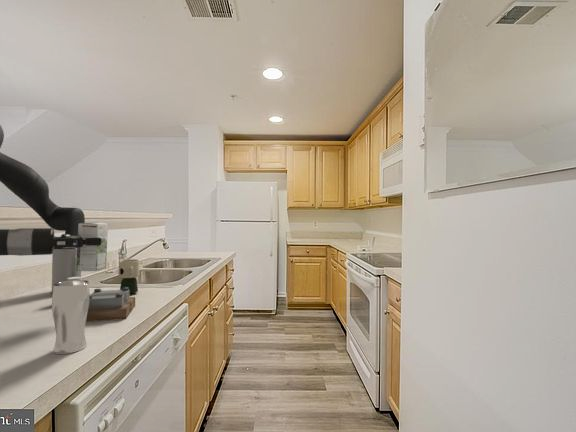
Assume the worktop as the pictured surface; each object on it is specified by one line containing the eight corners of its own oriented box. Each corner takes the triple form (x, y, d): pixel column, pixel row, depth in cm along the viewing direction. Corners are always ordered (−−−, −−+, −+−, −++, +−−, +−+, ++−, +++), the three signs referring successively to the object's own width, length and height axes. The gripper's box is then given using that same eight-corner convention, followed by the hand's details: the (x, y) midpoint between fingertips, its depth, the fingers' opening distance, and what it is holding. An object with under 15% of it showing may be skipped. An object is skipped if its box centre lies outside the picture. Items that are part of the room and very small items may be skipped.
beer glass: (47, 358, 63) (48, 287, 63) (55, 345, 69) (56, 281, 69) (86, 351, 66) (87, 284, 66) (90, 340, 72) (91, 278, 72)
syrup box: (87, 268, 94) (88, 222, 94) (107, 268, 94) (108, 222, 94) (75, 271, 88) (77, 222, 88) (96, 271, 88) (97, 223, 88)
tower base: (91, 308, 96) (91, 287, 96) (135, 305, 100) (135, 285, 100) (74, 322, 84) (75, 298, 84) (126, 318, 88) (126, 295, 88)
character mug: (116, 292, 118) (117, 259, 118) (136, 289, 122) (137, 258, 122) (120, 298, 109) (120, 263, 109) (141, 295, 113) (142, 261, 113)
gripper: (27, 229, 77) (101, 229, 86) (36, 227, 89) (100, 227, 98) (26, 258, 77) (101, 255, 86) (35, 252, 89) (100, 250, 98)
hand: (100, 240), depth 92 cm, fingers closed on syrup box, 7 cm apart
